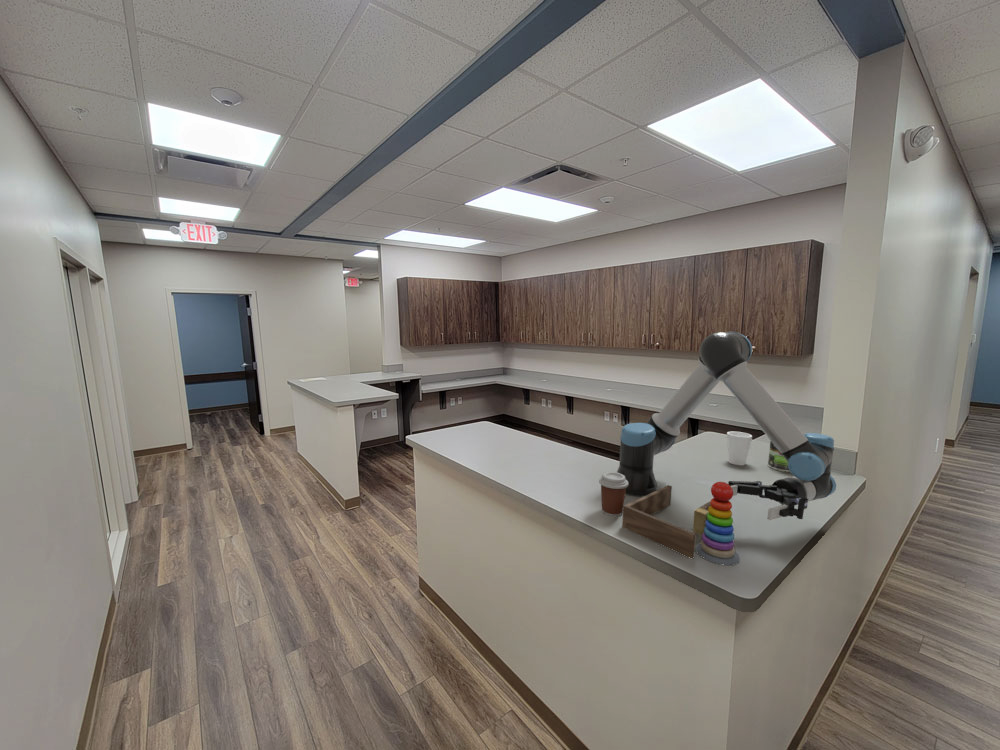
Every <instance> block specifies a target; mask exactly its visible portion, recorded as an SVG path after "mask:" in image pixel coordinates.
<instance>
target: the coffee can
mask: <svg viewBox="0 0 1000 750" xmlns="http://www.w3.org/2000/svg"><path fill="white" fill-rule="evenodd" d="M769 442H770V443H769V450H768V461H767V467H768V468H769V469H773V470H775V471H780V472H784V471H786V473H791V472H790V471H789V468H788V461H787V460H786V459H785V458H784V456H783V455H782V454H781V453H780V451H779V450H778V449H777V448H776V446H775V445H774V444H773V443H772V442H771V440H770V441H769Z"/></svg>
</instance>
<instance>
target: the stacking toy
mask: <svg viewBox="0 0 1000 750" xmlns="http://www.w3.org/2000/svg"><path fill="white" fill-rule="evenodd" d="M710 493H711V496H712V497H713V498H711V499H710V500H709V501H710V504H711V506H709V508H708V512H709V513H708V514H707V520H706V523H705V524H706V527H705V528H704V533H703V535H701V542H700V543H701V547H702V549H703V550H704V551H705V552H706V553H708V554H710V555H713V556H716V557H720V558H729V557H732V556H733V555H734V554H735V552H736V549H735V547H734V546H735V541H734V539H735V534H734V530H735V528H734V525H733V523H734V520H733V517H732V516H733V512H732V510H731V509H732V507H733V505H732V502H731V501H730V500H731V499H732V498H733V489H732V488H731V486H730V485H729V484H728V483H727V482H724V481H716V482H714V483H713V484H712V486H711V488H710Z"/></svg>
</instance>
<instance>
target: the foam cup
mask: <svg viewBox="0 0 1000 750" xmlns="http://www.w3.org/2000/svg"><path fill="white" fill-rule="evenodd" d="M752 439H753V435H752V434H750V433H747V432H741V431H727V432H726V441H727V454H728V455H727V457H728V463H730V464H732V465H735V466H745V465H746V463H747V459H748V455H749V451H750V448H751V443H752V442H753V440H752Z"/></svg>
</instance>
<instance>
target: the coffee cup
mask: <svg viewBox="0 0 1000 750" xmlns="http://www.w3.org/2000/svg"><path fill="white" fill-rule="evenodd" d="M598 483H599V484H600V492H601V493H600V494H601V495H600V497H601V512H602V513H603V514H604V515H605V516H606V515H607V516H610V517H620V516H623V506H624V504H625V498H626V494H625V491H626V487H628V485H629V483H628V481H627V480H626V479H625V476H624V475H622V474H620V473H617V471H616V472H615V471H606V472H603V474H602V475H601V476H600V477H599V478H598Z"/></svg>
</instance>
